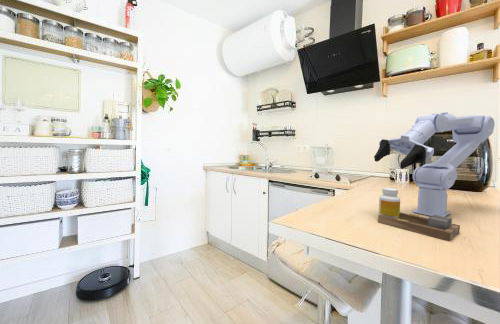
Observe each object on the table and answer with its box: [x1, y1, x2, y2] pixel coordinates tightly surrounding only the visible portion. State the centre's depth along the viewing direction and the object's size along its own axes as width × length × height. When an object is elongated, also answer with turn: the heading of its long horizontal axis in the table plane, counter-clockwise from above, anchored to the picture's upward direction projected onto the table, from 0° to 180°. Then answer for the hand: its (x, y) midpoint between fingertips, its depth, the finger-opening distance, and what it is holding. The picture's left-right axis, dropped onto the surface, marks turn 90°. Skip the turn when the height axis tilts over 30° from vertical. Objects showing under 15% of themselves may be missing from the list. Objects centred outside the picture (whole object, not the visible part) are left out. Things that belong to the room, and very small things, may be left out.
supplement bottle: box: [377, 187, 401, 219], centre depth 66 cm, size 5×5×10 cm
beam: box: [377, 212, 461, 242], centre depth 60 cm, size 9×16×4 cm, turn 36°
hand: (388, 162), depth 64 cm, fingers open, 7 cm apart
